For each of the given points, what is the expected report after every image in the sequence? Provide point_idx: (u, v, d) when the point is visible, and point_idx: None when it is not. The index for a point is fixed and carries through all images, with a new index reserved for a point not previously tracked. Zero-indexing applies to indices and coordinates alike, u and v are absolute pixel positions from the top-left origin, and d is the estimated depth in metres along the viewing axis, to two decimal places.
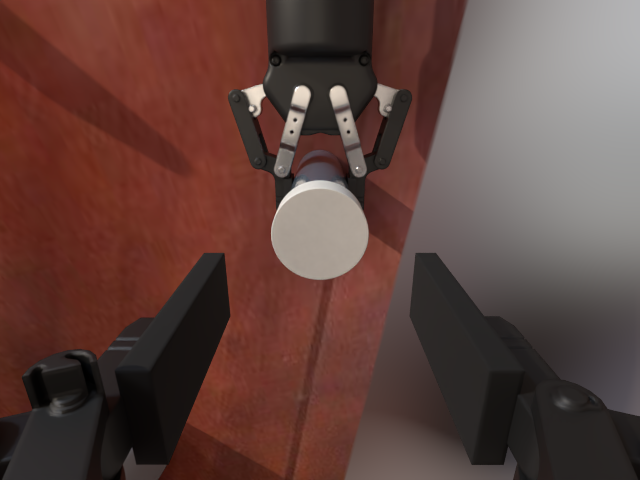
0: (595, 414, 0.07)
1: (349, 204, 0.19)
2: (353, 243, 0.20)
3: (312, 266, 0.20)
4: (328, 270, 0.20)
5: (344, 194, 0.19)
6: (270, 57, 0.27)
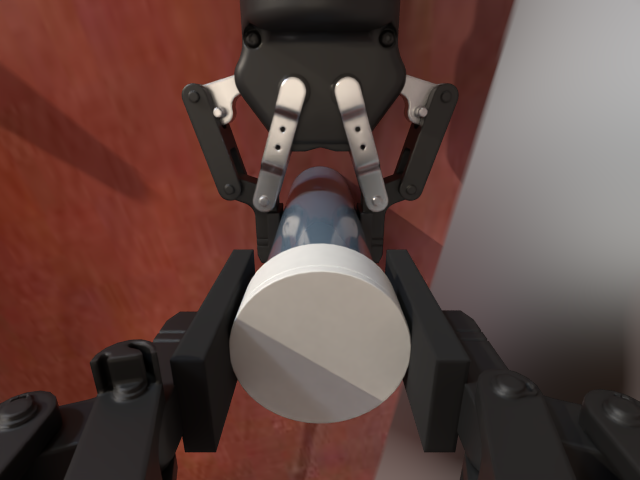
0: (531, 399, 0.07)
1: (376, 299, 0.10)
2: (382, 365, 0.11)
3: (306, 402, 0.11)
4: (335, 409, 0.11)
5: (367, 281, 0.10)
6: (244, 34, 0.18)
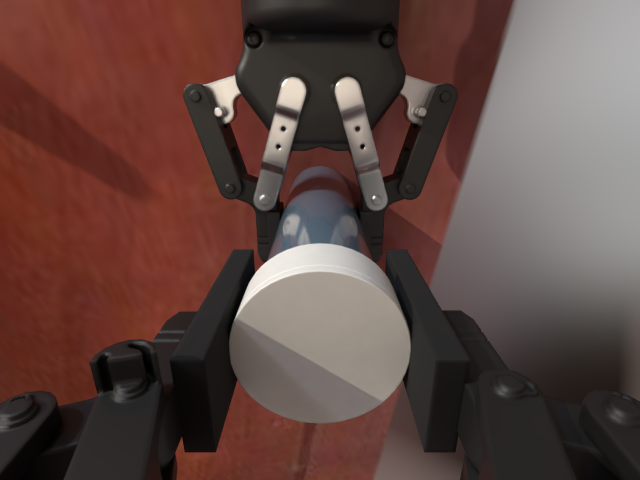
0: (531, 399, 0.07)
1: (278, 290, 0.10)
2: (357, 306, 0.10)
3: (372, 381, 0.11)
4: (391, 361, 0.11)
5: (257, 290, 0.10)
6: (245, 34, 0.18)
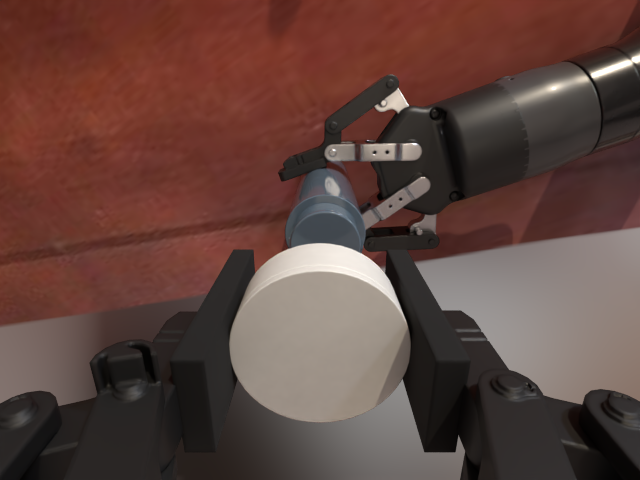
0: (531, 399, 0.07)
1: (278, 289, 0.10)
2: (356, 305, 0.10)
3: (371, 381, 0.11)
4: (391, 360, 0.11)
5: (257, 290, 0.10)
6: (436, 107, 0.27)
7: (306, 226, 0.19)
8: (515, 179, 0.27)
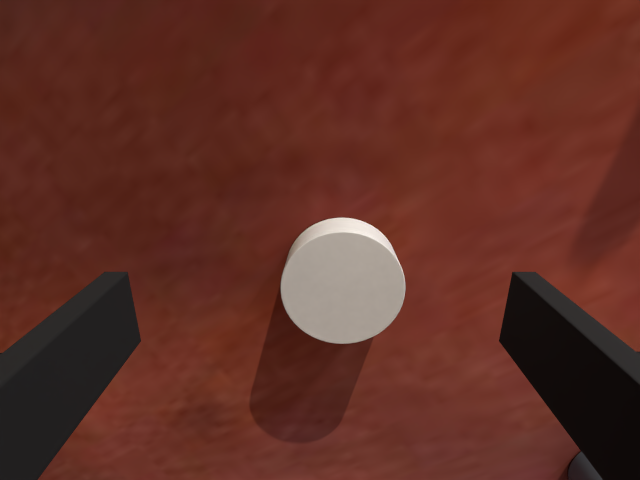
0: None
1: (315, 245, 0.15)
2: (368, 256, 0.15)
3: (378, 312, 0.16)
4: (391, 296, 0.15)
5: (301, 245, 0.15)
6: None
7: None
8: None
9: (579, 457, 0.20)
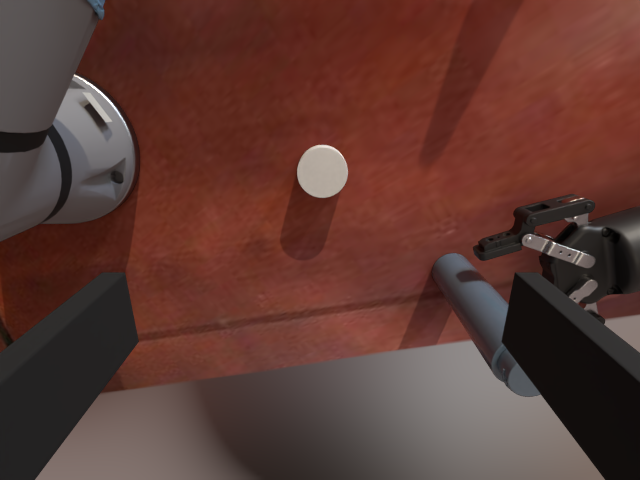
0: None
1: (311, 153, 0.37)
2: (332, 157, 0.37)
3: (337, 182, 0.38)
4: (342, 175, 0.38)
5: (305, 153, 0.37)
6: (606, 227, 0.34)
7: None
8: None
9: (435, 263, 0.43)
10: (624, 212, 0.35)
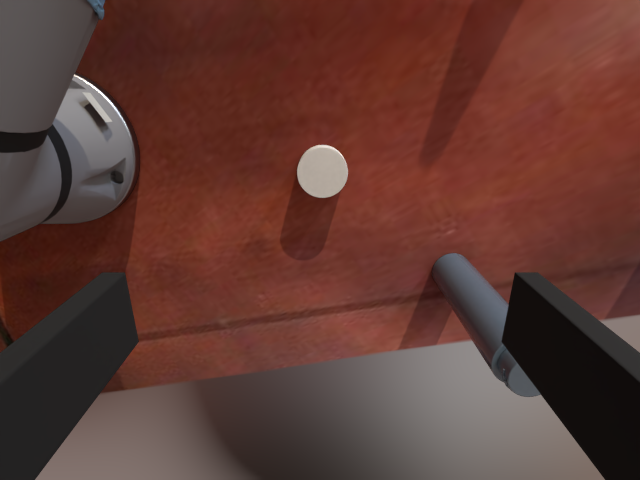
0: None
1: (311, 153, 0.37)
2: (332, 157, 0.37)
3: (337, 182, 0.38)
4: (342, 175, 0.38)
5: (305, 153, 0.37)
6: None
7: None
8: None
9: (435, 263, 0.43)
10: None
